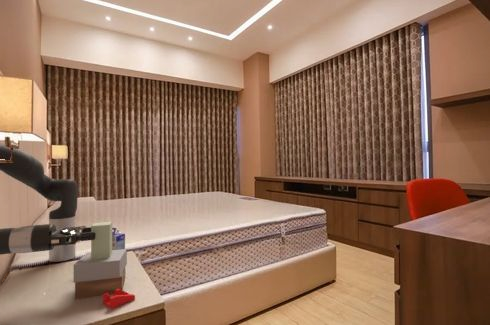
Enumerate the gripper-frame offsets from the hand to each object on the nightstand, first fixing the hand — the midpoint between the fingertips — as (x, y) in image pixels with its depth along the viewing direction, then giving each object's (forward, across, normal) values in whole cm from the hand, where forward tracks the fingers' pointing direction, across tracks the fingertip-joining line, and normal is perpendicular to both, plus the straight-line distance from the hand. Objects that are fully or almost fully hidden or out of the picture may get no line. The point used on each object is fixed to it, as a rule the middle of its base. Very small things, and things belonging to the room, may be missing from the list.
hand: (97, 232), depth 82 cm
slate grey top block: (+1, 0, +12) cm, 12 cm away
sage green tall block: (+1, 0, +7) cm, 7 cm away
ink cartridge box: (+1, +19, +17) cm, 26 cm away
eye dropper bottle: (+3, +29, +17) cm, 34 cm away
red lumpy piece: (+7, -12, +18) cm, 22 cm away
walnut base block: (+1, 0, +17) cm, 17 cm away
